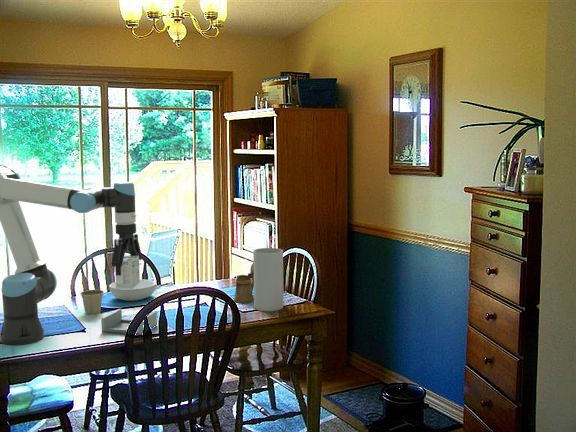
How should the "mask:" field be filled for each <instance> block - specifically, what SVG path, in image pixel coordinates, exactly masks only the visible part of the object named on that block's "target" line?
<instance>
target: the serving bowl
mask: <svg viewBox="0 0 576 432" xmlns="http://www.w3.org/2000/svg"><path fill="white" fill-rule="evenodd" d="M108 288H109V290H110V293H111V295H112V296H113V297H115V298H116V299H118V300H122V301H127V302H134V301H135V302H136V301H141V300H143V299H146V298H149V297H150V296H152V295H153V294H154V293H155V291H156V288H157V282H156V281H155V280H151V279H141V278H140V283H138V284H137V285H136V286H135V287H134V288H133V289H116V281H114V282H112V283H110V284H109V287H108Z"/></svg>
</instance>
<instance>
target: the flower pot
mask: <svg viewBox="0 0 576 432" xmlns="http://www.w3.org/2000/svg"><path fill="white" fill-rule="evenodd" d="M104 292H105V291H104V290H101V289H88V290H83V291H80V293H79V294H80V296H81V299H82V302H83V307H84V312H85V314H87V315H92V314H93V315H97V314H100V313H101V312H102V299H103V296H104Z"/></svg>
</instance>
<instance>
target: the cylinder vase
mask: <svg viewBox="0 0 576 432" xmlns="http://www.w3.org/2000/svg"><path fill="white" fill-rule="evenodd" d="M252 257H253V262H254V288H253V296H254V301H253V306H254V309H255V310H257V311H259V312H264V313H265V312H268V313H269V312H278V311H281V310H282V309H283V308H284V250H283V249H281V248H278V247H277V248H275V247H262V248H255V249H254V250H253V255H252Z"/></svg>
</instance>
